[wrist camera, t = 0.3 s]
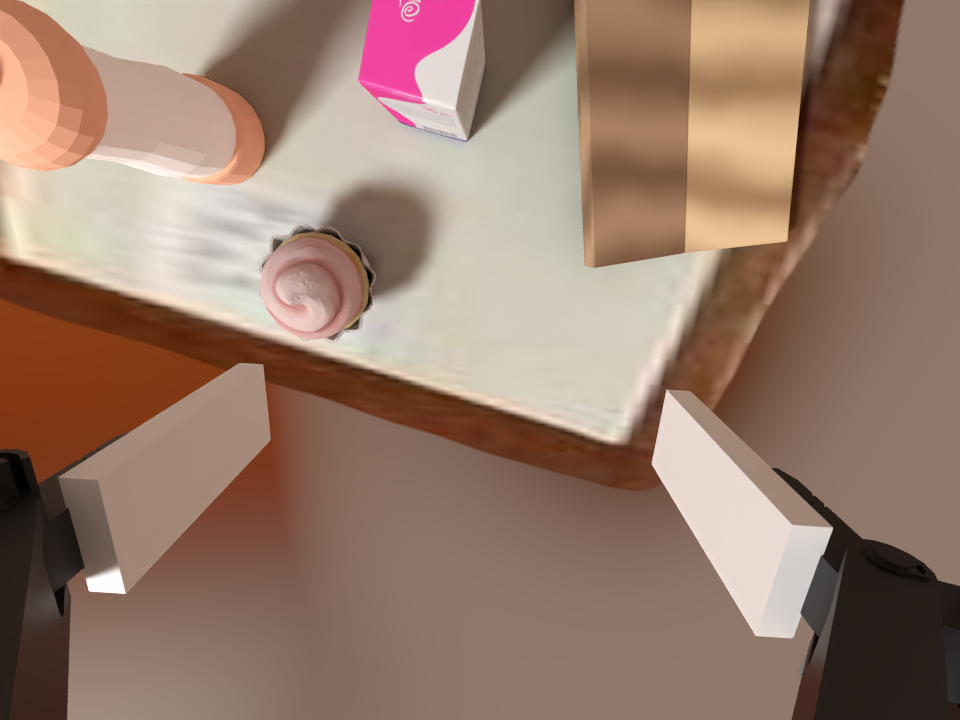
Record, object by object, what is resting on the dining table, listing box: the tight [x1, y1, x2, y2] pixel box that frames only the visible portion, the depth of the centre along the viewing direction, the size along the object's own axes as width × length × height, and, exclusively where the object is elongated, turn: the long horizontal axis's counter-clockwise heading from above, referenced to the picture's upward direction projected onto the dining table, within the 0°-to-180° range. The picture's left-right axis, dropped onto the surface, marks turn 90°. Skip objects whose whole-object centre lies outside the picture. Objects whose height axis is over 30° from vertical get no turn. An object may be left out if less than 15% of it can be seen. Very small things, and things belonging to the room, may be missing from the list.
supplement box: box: [358, 0, 486, 142], centre depth 30 cm, size 6×6×12 cm
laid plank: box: [684, 0, 810, 253], centre depth 34 cm, size 24×8×2 cm, turn 7°
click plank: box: [574, 0, 691, 268], centre depth 33 cm, size 24×8×2 cm, turn 6°
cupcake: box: [259, 223, 376, 343], centre depth 36 cm, size 9×9×10 cm
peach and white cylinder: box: [0, 0, 265, 185], centre depth 28 cm, size 7×7×19 cm
